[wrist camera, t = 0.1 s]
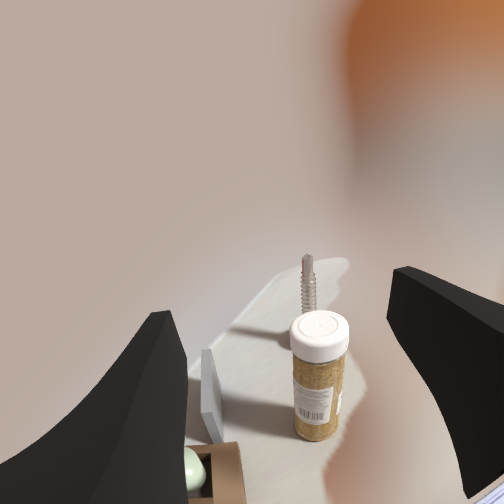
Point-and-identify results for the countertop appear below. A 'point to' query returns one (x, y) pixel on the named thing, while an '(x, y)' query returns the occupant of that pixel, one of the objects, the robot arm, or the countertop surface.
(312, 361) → the sprinkles bottle
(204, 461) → the wooden compartment tray
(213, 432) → the card
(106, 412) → the robot arm
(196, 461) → the button
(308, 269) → the screw
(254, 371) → the countertop surface
